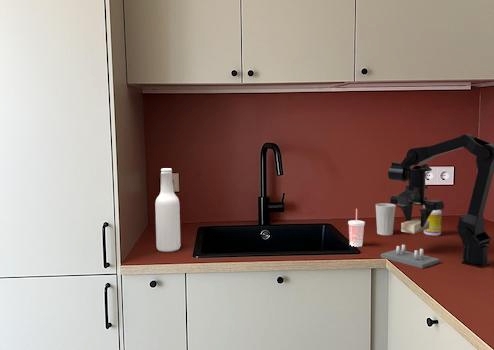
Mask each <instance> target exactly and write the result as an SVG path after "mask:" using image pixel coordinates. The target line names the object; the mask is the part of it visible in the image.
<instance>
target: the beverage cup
mask: <svg viewBox="0 0 494 350" xmlns="http://www.w3.org/2000/svg"><path fill="white" fill-rule="evenodd" d="M365 224H366V221H363V220H359V219H358V208H355V219H353V220H352V219H351V220H348V221H347V225H348V236H349V246H350V245H351V247H353V246H354V247H356V248H357V247H358V248H359V247H362V246H363V241H364V228H365Z"/></svg>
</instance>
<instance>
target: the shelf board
mask: <svg viewBox="0 0 494 350" xmlns="http://www.w3.org/2000/svg"><path fill="white" fill-rule="evenodd" d="M400 224H401V226H400V227H401V228H400V232H403V233H407V234H413V235H414V234H415V235H416V234H418V233H421V232H424V230H427V229H429V220H427V221H426V223H425V225H424V227H421V218H414V219H411V221H407V222H406V221H404V222H401V223H400Z"/></svg>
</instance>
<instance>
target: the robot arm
mask: <svg viewBox="0 0 494 350" xmlns="http://www.w3.org/2000/svg"><path fill="white" fill-rule="evenodd" d="M460 149H466V151H468V152H469V153H470V154H473V156H476V157H475V163H476V169H477V172H476V176H475V180H474V185H473V187H472V193H471V197H470V201H469V206H468V210H467V213H466V214H464V215H460V216H459V218H458V224H457V226H456V228H455V229H457V235H458V236H459V238H461V239H460V240H461V243H462V246H463V249H462V261H461V264H465V265H469V266H472V267H478V268H482V267H485V266H487V265H490V264H491V263H490V261H488V258H489V257H488V256H489V246H488V245H490V243H491V241H492V237H490V235H489V234H488V233H487V232H486V230H485V227H486V226H485V225H486V223H485V218H484V212H485V208H486V204H487V200H488V197H489V192H490V188H491V185H492V180H493V177H494V143H491V142H489V141H486V140H484V139H481V138H478V137H477V136H475V135H473V134H470V133H469V134H467V133H466V134H461V135H460V136H457V137H454V138H452V139H448V140H446V141H442V142H439V143H436V144H433V145H429V146H421V147H413V148H410V149H408V150H407V153H406V155H405V157H404V159H403V160H402V161H401V162H396V161H394V162H391V166H390V167H389V169H388V171H387V177H388V179H389V180H390V181H394V182H407V181H408V182H407V183H408V184H407V185H405V189H404V191H402V192H401V193H399V194H395V195H391V197H390V199H389V204H394V205H396V207H397V208H399V209H401V211H402V213H403V215H404V218H405V222H407V221H411V220H412V214H413V206H414V205H415V206H421V207H422V208H419V212H420V219H421V227H424V225H425V223H426V221H427V219H428V217H429V216H430V214H431V213H432V211H433V210H444V209H445V203H444V202H443V200H439V199H430V200H429V199H428V197H427V196H426V189H428V185H426V175H427V174H426V173H427V172H430V171H432V170H433V169H432V167H430V166H429V165H428V164H427V163H428V162H429V161H432V160H433V159H435V158H436V157H438V156H441V155H444V154H448V153H452V152H454V151H457V150H460ZM425 163H426V164H425ZM420 164H422V165H420Z"/></svg>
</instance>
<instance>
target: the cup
mask: <svg viewBox="0 0 494 350" xmlns="http://www.w3.org/2000/svg"><path fill="white" fill-rule="evenodd" d="M396 207H397V204H390V203H387V202H385V203H383V202H382V203H376V204H375V215H376V216H375V217H376V219H375V220H376V233H377V235H380V236H391V235H393V234H394V225H395V224H394V223H395V215H396V214H395V212H396Z"/></svg>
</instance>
